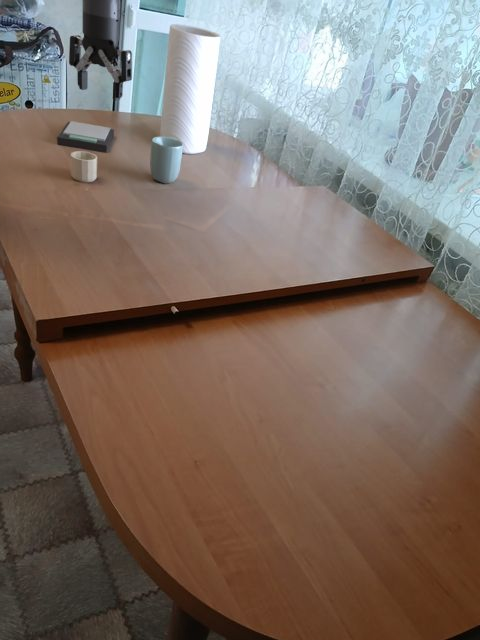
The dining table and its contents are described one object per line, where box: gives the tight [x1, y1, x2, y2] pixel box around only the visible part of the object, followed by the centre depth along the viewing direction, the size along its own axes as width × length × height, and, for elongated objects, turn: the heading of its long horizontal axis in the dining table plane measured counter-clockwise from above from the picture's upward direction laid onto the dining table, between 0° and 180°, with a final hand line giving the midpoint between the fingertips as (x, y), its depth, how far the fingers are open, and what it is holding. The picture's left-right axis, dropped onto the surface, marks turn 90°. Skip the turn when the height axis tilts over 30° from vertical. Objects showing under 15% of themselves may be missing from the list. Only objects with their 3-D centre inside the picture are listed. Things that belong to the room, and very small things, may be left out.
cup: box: [149, 135, 183, 184], centre depth 140 cm, size 8×8×10 cm
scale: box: [56, 120, 115, 153], centre depth 154 cm, size 13×15×3 cm
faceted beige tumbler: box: [70, 150, 98, 183], centre depth 132 cm, size 6×6×6 cm
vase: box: [159, 23, 221, 155], centre depth 158 cm, size 14×14×32 cm
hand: (99, 94), depth 123 cm, fingers open, 8 cm apart
